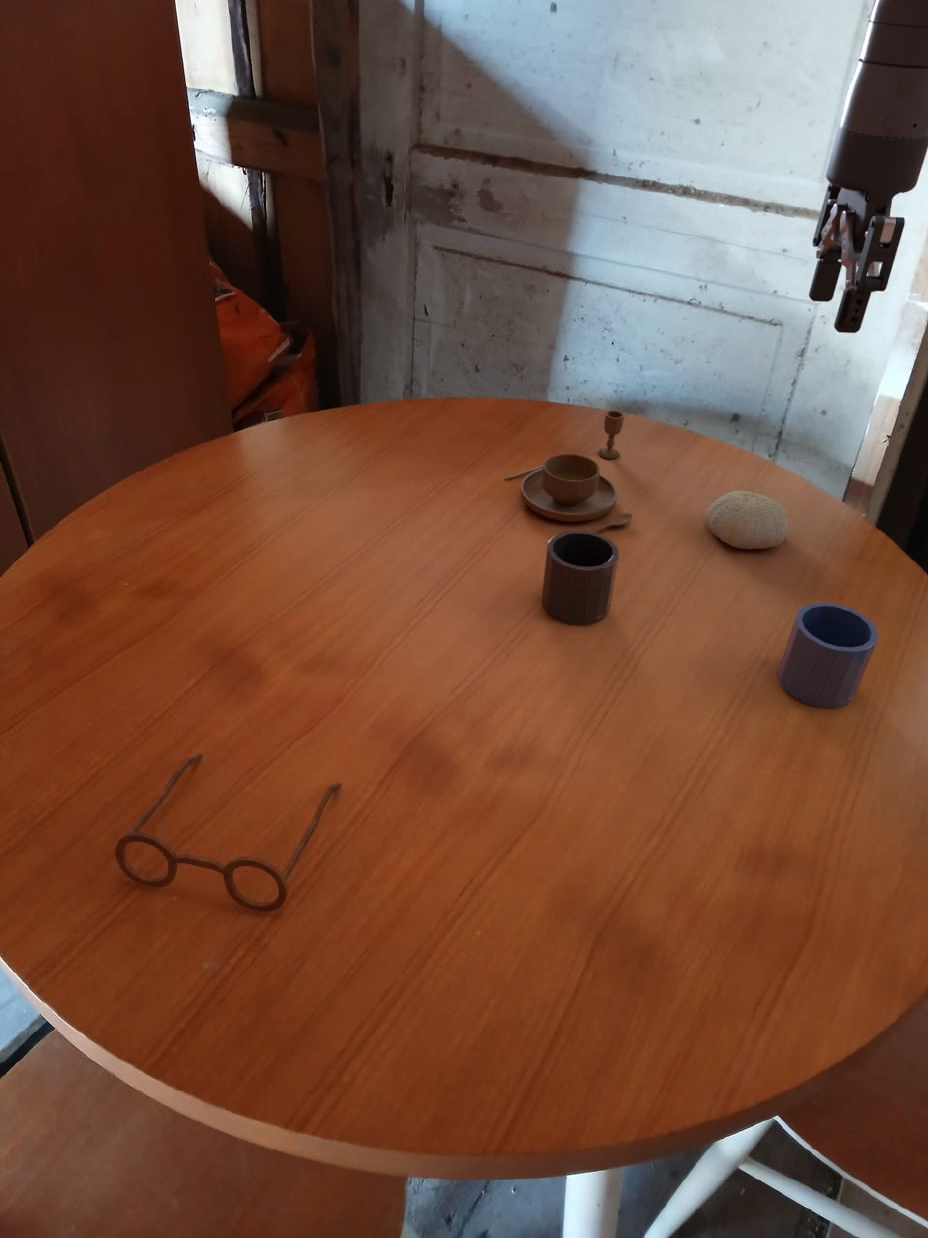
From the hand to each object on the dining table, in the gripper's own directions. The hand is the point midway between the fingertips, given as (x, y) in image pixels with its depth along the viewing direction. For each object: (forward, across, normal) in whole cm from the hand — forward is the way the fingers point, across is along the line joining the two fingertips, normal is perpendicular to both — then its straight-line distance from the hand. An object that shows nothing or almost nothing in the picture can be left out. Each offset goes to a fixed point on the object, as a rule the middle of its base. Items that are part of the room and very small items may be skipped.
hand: (832, 315), depth 86 cm
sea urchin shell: (+28, +5, +1) cm, 29 cm away
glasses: (+28, -42, +51) cm, 72 cm away
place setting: (+28, +14, +19) cm, 37 cm away
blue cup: (+28, -21, 0) cm, 35 cm away
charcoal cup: (+28, -10, +22) cm, 37 cm away
